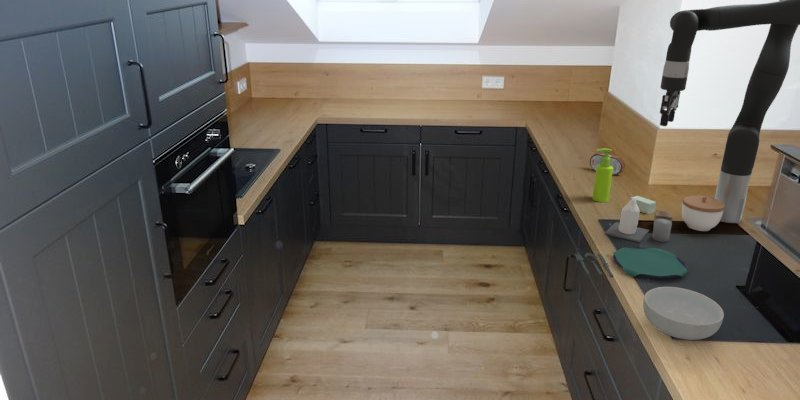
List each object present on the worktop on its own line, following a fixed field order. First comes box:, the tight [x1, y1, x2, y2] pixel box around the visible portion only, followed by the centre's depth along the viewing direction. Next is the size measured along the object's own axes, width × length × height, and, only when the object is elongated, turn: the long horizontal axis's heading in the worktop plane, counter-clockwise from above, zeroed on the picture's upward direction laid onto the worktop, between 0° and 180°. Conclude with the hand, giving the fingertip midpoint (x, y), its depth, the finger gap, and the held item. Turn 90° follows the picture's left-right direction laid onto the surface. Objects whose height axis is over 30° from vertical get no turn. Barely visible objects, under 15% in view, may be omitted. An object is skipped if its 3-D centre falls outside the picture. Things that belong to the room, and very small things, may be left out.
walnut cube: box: [653, 209, 673, 224], centre depth 193 cm, size 5×5×5 cm
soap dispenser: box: [592, 147, 613, 203], centre depth 215 cm, size 6×7×20 cm
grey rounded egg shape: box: [651, 219, 673, 243], centre depth 184 cm, size 5×5×6 cm
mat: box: [604, 221, 650, 243], centre depth 189 cm, size 11×11×1 cm
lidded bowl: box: [681, 195, 725, 232], centre depth 192 cm, size 13×13×11 cm
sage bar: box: [629, 195, 658, 215], centre depth 208 cm, size 8×4×4 cm, turn 32°
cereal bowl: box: [642, 286, 725, 341], centre depth 134 cm, size 17×17×7 cm
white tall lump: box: [619, 198, 641, 234], centre depth 187 cm, size 6×12×6 cm
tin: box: [589, 151, 626, 176], centre depth 248 cm, size 15×3×8 cm, turn 47°
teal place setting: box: [574, 246, 688, 279], centre depth 167 cm, size 20×30×2 cm, turn 86°
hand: (666, 123), depth 193 cm, fingers open, 8 cm apart
